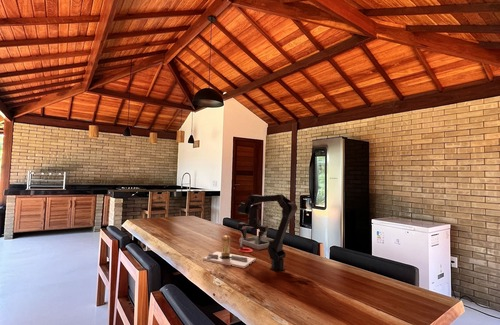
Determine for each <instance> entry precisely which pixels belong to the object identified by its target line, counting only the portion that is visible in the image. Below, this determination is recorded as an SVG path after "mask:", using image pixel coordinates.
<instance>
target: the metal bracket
mask: <svg viewBox="0 0 500 325" xmlns="http://www.w3.org/2000/svg"><path fill="white" fill-rule="evenodd" d="M256 236H257V235H254V236H253V237H254V238H253V239H255V242H254V244H257V245H258V243H259V242H258V237H256ZM261 240H262V241H267V242H269V241H268V239H266V238H264V239H263V238H262V239H261Z"/></svg>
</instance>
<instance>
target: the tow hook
mask: <svg viewBox="0 0 500 325" xmlns="http://www.w3.org/2000/svg"><path fill="white" fill-rule="evenodd" d="M240 235H241V236H240V239H241V243H239V247H238V248H239V249H237V251H238V252H242V253H245V254H247V253H248V254H249V253H252V252H253V248H251V247H244V245H243V243H242V241H243V238H244V237H243V234H242V233H241V234H240Z"/></svg>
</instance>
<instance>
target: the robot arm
mask: <svg viewBox="0 0 500 325" xmlns="http://www.w3.org/2000/svg"><path fill="white" fill-rule="evenodd" d="M268 202H270V203H271V202H277V204H278V206H279V207H280V208H281V209H282V210H281V215H282V217H281V220H280V223H279V225H278V228H277V231H276V234H275V237H274V240H272V241H270V242H269V246H268V248H267V253H268V254H269V259H270V260H271V265H270V266H271V267H269V269H270V270H272V271H274V270H275V271H274V272H277V271H279V272H282V270H283V271H285V270H286V268H284V262H285V259H284V258H286V256H287V254H286V253H285V251H284V244H283V242H284V238H285V235H286V233H287V230H288V227H289V224H290V221H291V219H292V218H293V217H294V215H295V214H296V212H297V210H298V206H297V204H296V203H295V202H293V201H292V200H291V199H289V198H287V197H286V196H285V195H284V194H283V193H278V194H273V195H260V194H250V195H248V197H247V199H246V201H245V202H239V205H238V207H237V213H238V214H243V215H248V216H247V219H248V220H247V222H239V223H237V225H236V226H237V229H238V230H239V231H240V232H241V235H242V234H243V238H244V239H245V240H246V238H247V230H248V229H254V230H259V231H258V235H257V236H258V242H260V240H261V237H262V236H263V235H264V234H265V233H266V232H268V231H269V226H268V225H265V224H262V220H261V219H260V218H259V209H262V207H261V205H259V204H262V203H268ZM261 224H262V225H261Z"/></svg>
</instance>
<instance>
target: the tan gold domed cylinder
mask: <svg viewBox="0 0 500 325" xmlns="http://www.w3.org/2000/svg"><path fill="white" fill-rule="evenodd" d="M230 246H231V236H230V235H228V234H226V235H222V237H221V252H222V258H229V257H230V254H231V250H230V249H231V247H230Z"/></svg>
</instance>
